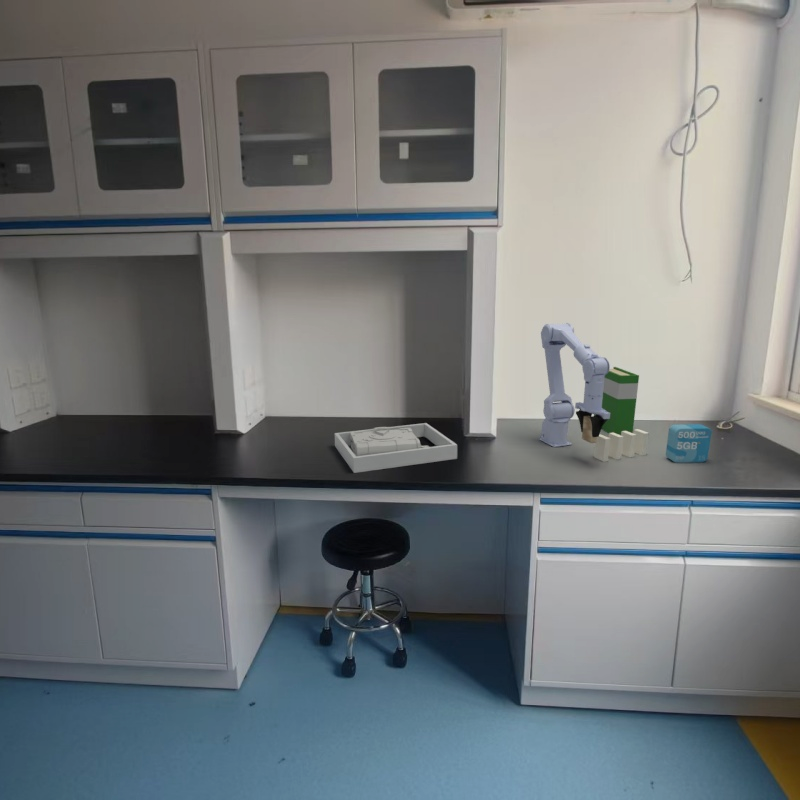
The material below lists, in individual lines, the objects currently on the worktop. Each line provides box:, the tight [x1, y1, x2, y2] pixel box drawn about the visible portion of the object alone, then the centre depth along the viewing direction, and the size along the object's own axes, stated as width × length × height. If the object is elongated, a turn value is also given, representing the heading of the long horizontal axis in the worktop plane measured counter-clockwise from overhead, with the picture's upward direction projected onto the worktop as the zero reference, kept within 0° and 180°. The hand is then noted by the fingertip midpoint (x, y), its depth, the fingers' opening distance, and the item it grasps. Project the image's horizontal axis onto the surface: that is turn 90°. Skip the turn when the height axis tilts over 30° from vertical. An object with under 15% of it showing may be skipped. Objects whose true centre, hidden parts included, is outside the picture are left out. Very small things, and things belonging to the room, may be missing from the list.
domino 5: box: [633, 428, 650, 456], centre depth 179 cm, size 5×2×8 cm, turn 20°
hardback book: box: [593, 366, 640, 435], centre depth 203 cm, size 18×7×24 cm, turn 5°
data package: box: [665, 423, 712, 463], centre depth 171 cm, size 12×4×12 cm, turn 91°
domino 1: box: [581, 416, 597, 444], centre depth 170 cm, size 5×2×8 cm, turn 20°
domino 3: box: [607, 433, 623, 461], centre depth 175 cm, size 5×2×8 cm, turn 20°
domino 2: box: [593, 434, 610, 463], centre depth 173 cm, size 5×2×8 cm, turn 20°
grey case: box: [349, 426, 430, 456], centre depth 182 cm, size 19×28×8 cm
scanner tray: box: [334, 422, 458, 474], centre depth 181 cm, size 27×36×5 cm
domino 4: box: [621, 431, 636, 458], centre depth 177 cm, size 5×2×8 cm, turn 20°
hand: (589, 434), depth 170 cm, fingers closed on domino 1, 5 cm apart
